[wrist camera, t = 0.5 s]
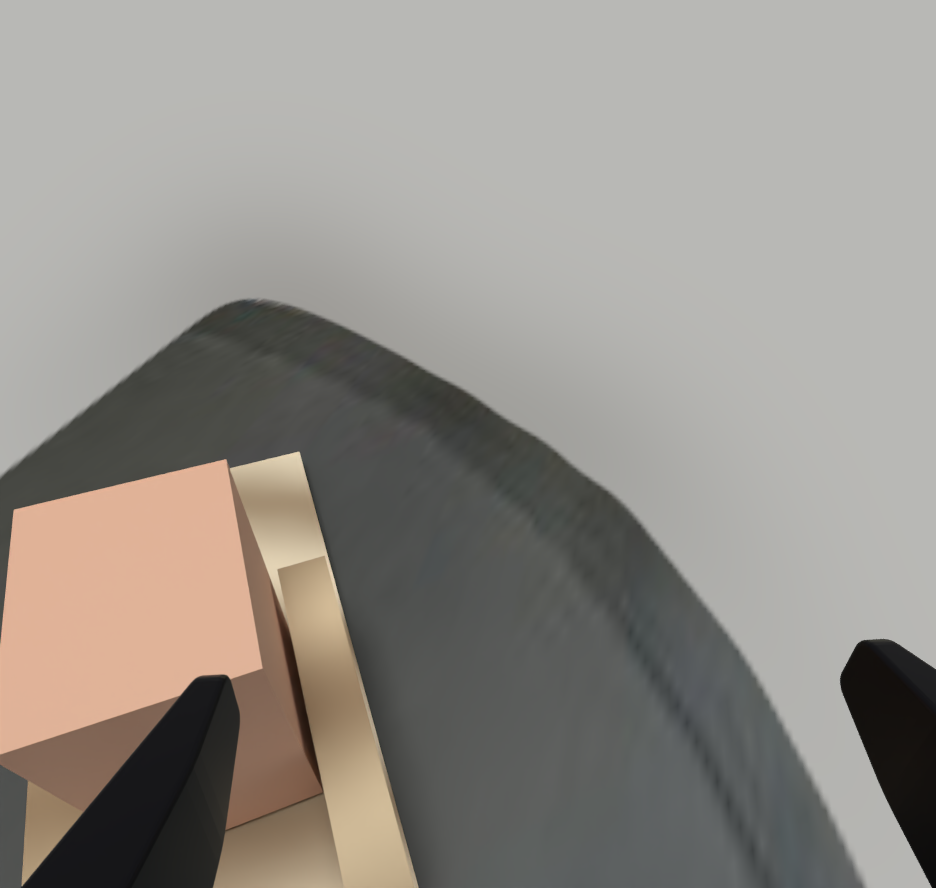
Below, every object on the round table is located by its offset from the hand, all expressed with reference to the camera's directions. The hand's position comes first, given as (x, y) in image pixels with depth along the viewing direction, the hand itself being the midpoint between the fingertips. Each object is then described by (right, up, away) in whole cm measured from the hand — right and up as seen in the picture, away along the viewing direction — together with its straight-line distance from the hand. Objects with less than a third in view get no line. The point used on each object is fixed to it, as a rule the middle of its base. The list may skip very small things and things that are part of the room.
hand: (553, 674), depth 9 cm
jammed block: (-9, -7, +13) cm, 17 cm away
